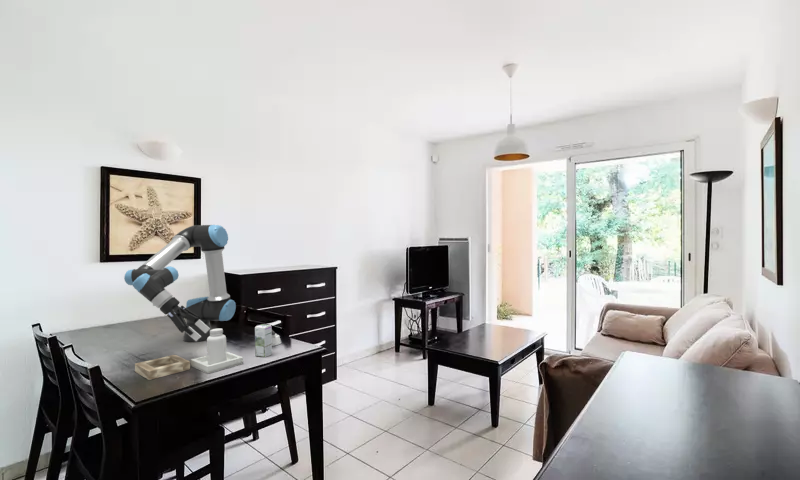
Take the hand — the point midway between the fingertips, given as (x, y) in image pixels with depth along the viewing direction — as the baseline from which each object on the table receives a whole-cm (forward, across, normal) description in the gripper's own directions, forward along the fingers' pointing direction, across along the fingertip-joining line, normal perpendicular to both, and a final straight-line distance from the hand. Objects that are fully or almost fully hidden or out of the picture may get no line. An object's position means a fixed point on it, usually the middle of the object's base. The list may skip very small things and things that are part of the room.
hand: (203, 334), depth 176 cm
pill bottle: (+13, -1, -6) cm, 14 cm away
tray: (+14, 0, -6) cm, 15 cm away
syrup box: (+27, -11, +7) cm, 30 cm away
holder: (-1, +2, -21) cm, 22 cm away
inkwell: (+28, -27, +8) cm, 40 cm away
